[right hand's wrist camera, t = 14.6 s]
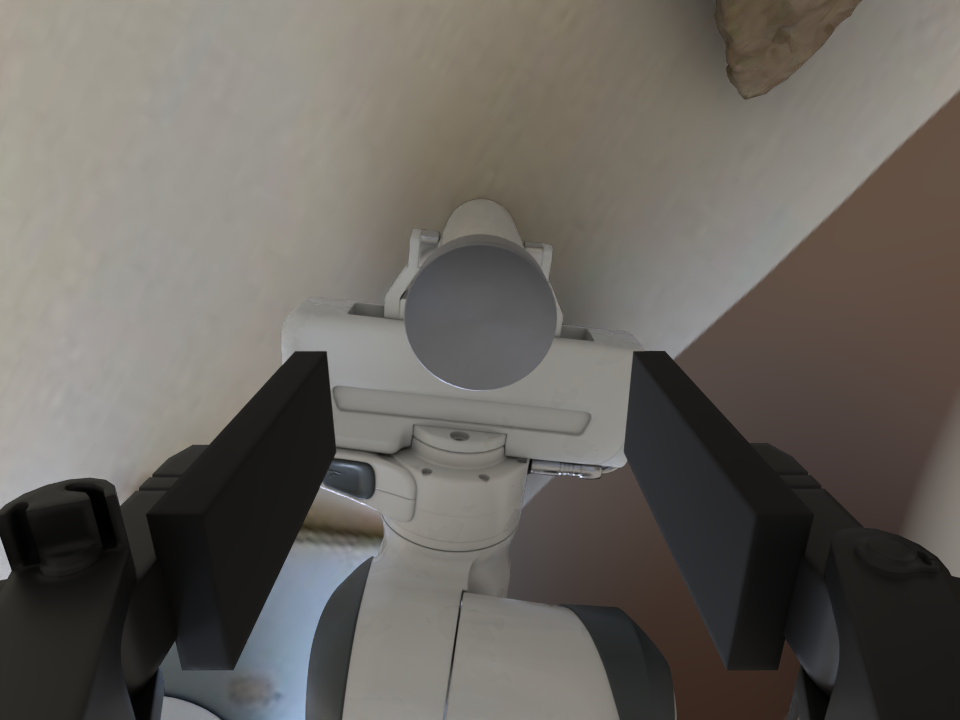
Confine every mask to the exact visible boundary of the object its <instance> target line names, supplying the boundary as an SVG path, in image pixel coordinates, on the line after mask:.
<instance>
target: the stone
mask: <svg viewBox="0 0 960 720" xmlns="http://www.w3.org/2000/svg"><path fill="white" fill-rule="evenodd" d="M861 1H862V0H717V8H716V11H715V14H714V16H715V20H716V23H717V26H718V29H719V32H720V34H721V35H722V37H723V38H724V40H725V43H726V62H727V63H728V64H729V65H728V66H727V68H726V69H727V75H728V78H729V80H730V82H731V83H732V84H733V85H734V86H735V87H736V88H737V90H738V92H739V94H740V95H741V96H742V97H743V98H744V99H745V100H746V99H749V98H753V97H756V96H759V95H763V94H766V93H767V92H768V91H770V90H771V89H772V88H774V87H775V86H777V85H778V84H780V83H781V82H783V81H785V80H786V79H788V78H789V77H790V76H791V75H792V74H793V73H794V72H796V71H797V70H798V69H799V68H800V67H801V66H802V65H803V64H804V63H805V62H806V61H807V60H808V59H809V58H810V57H811V56H812V55H813V54H814V53H815V52H816V51H817V50H818V49H819V48H820V47H821V46H822V45H823V44H824V43H825V42H826V41H827V39H828V38H829V37H830V35H831V34H832V32H833V31H834V29H835V28H836V27H837V26H838V25H839V24H840V23H841V22H842V21H844V20H845V19H846V18H848V17H849V16H851V14H852V12H853V11H854V9H855V7H856V6H857V5H858V4H859V3H860V2H861Z"/></svg>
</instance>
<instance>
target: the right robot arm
mask: <svg viewBox="0 0 960 720" xmlns="http://www.w3.org/2000/svg"><path fill="white" fill-rule="evenodd" d="M335 454H336V442H335V431H334V421H333V410H332V400H331V390H330V379H329V369H328V359H327V351H295V352H294V353H293V354H292V355H291V356H290V357H289V358H288V359H287V361H286V362H285V363H284V364H283V365H282V366H281V367H280V368H279V369H278V370H277V371H276V373H275V374H274V375H273V376H272V377H271V378H270V379H269V380H268V381H267V382H266V383H265V385H264V386H263V387H262V388H261V389H260V390H259V391H258V392H257V393H256V394H255V395H254V397H253V398H252V399H251V400H250V401H249V402H248V403H247V404H246V405H245V406H244V408H243V409H242V410H241V411H240V412H239V413H238V414H237V415H236V416H235V417H234V418H233V420H232V421H231V422H230V423H229V424H228V425H227V426H226V427H225V428H224V429H223V430H222V432H221V433H220V434H219V435H218V436H217V437H216V438H215V439H214V440H213V441H212V442H211V444H210V445H192V446H190V447H188V448H186V449H185V450H183V451H181V452H179V453H177V454H176V455H174V456H172V457H170V458H168V459H167V460H166V461H165V462H164V463H163V464H162V465H161V466H160V467H159V468H158V469H157V470H156V471H155V472H154V473H153V476H152V477H149V478H148V479H147V480H146V481H145V482H144V483H143V484H142V485H141V486H140V487H139V491H135V492H134V493H133V494H132V495H131V496H130V497H129V498H128V499H127V500H126V501H125V502H124V503H123V504H122V505H121V506H120V505H119V501H118V497H117V493H116V489H115V486H114V485H113V484H111V483H110V482H108V481H107V480H103V479H95V478H82V479H70V480H66V481H61V482H57V483H53V484H49V485H46V486H43V487H40V488H38V489H35V490H33V491H30V492H28V493H25V494H23V495H21V496H20V497H18V498H16V499H15V500H13V501H11V502H9V503H8V504H6V505H5V506H4V507H3V508H2V509H1V510H0V537H1V540H2V543H3V546H4V549H5V552H6V555H7V558H8V561H9V564H10V567H11V570H12V571H11V573H10V575H9V577H8V579H5V580H0V720H161V713H162V706H163V698H164V691H165V689H164V682H163V677H162V673H161V669H160V664H161V663H162V661H163V659H164V658H165V656H166V655H167V653H168V651H169V650H170V648H171V647H172V645H173V643H174V642H175V641H176V646H177V650H178V654H179V658H180V663H181V667H182V670H234V668H235V665H236V663H237V661H238V659H239V657H240V655H241V653H242V651H243V649H244V646H245V644H246V642H247V640H248V638H249V636H250V634H251V632H252V630H253V627H254V625H255V623H256V621H257V619H258V617H259V615H260V613H261V611H262V608H263V606H264V604H265V602H266V600H267V598H268V596H269V594H270V592H271V589H272V587H273V585H274V583H275V581H276V579H277V577H278V575H279V573H280V570H281V568H282V566H283V564H284V562H285V560H286V558H287V556H288V554H289V551H290V549H291V547H292V545H293V543H294V541H295V539H296V537H297V535H298V532H299V530H300V528H301V526H302V524H303V522H304V520H305V518H306V516H307V513H308V511H309V509H310V507H311V505H312V503H313V501H314V499H315V497H316V494H317V492H318V490H319V488H320V486H321V484H322V482H323V480H324V478H325V475H326V473H327V471H328V469H329V467H330V465H331V463H332V461H333V458H334V456H335ZM624 454H625V456H626V458H627V461H628V463H629V465H630V467H631V469H632V471H633V473H634V475H635V478H636V480H637V482H638V484H639V486H640V488H641V490H642V492H643V494H644V497H645V499H646V501H647V503H648V505H649V507H650V509H651V511H652V513H653V516H654V518H655V520H656V522H657V524H658V526H659V528H660V530H661V532H662V534H663V537H664V539H665V541H666V543H667V545H668V547H669V549H670V551H671V553H672V556H673V558H674V560H675V562H676V564H677V566H678V568H679V570H680V573H681V575H682V577H683V579H684V581H685V583H686V585H687V587H688V589H689V592H690V594H691V596H692V598H693V600H694V602H695V604H696V606H697V608H698V611H699V613H700V615H701V617H702V619H703V621H704V623H705V625H706V627H707V629H708V632H709V634H710V636H711V638H712V640H713V642H714V644H715V646H716V649H717V651H718V653H719V655H720V657H721V659H722V661H723V663H724V665H725V668H726V670H778V667H779V663H780V658H781V654H782V650H783V646H784V641H785V639H786V640H787V642H788V643H789V645H790V647H791V648H792V650H793V651H794V653H795V655H796V656H797V658H798V659H799V661H800V663H801V665H800V669H799V673H798V677H797V681H796V684H795V688H794V692H793V696H792V701H791V704H790V708H789V712H788V717H787V720H797V719H798V718H799V719H800V720H960V578H958V577H954V576H951V574H950V572H949V570H948V569H947V568H946V567H945V566H944V564H943V563H942V562H941V561H940V560H939V558H938V557H937V556H935V555H934V554H932V553H931V552H929V551H928V550H926V549H925V548H923V547H922V546H921V545H919V544H917V543H914V542H912V541H910V540H908V539H906V538H904V537H901V536H899V535H896V534H892V533H889V532H885V531H882V530H878V529H871V528H864V527H863V526H862V525H861V524H860V523H859V522H858V521H857V520H856V519H855V518H854V517H853V516H852V515H851V514H850V513H849V512H848V511H847V510H846V509H845V508H844V507H843V506H842V505H841V504H840V503H839V502H838V501H837V500H836V499H835V498H834V497H832V495H831V494H830V493H828V492H827V491H826V490H825V489H822V488H821V485H820V484H819V483H818V482H817V481H816V480H815V479H814V478H813V477H812V476H811V475H808V472H807V471H806V470H805V469H804V468H803V467H802V466H801V465H800V464H799V463H798V462H797V461H796V460H795V459H794V458H793V457H792V456H790V455H788V454H786V453H785V452H783V451H781V450H779V449H777V448H776V447H774V446H772V445H770V444H768V443H749V442H748V441H747V440H746V439H745V438H744V437H743V436H742V435H741V434H740V433H739V432H738V431H737V429H736V428H735V427H734V426H733V425H732V424H731V423H730V422H729V421H728V420H727V418H726V417H725V416H724V415H723V414H722V413H721V412H720V411H719V410H718V409H717V408H716V406H715V405H714V404H713V403H712V402H711V401H710V400H709V399H708V398H707V397H706V396H705V394H704V393H703V392H702V391H701V390H700V389H699V388H698V387H697V386H696V385H695V383H694V382H693V381H692V380H691V379H690V378H689V377H688V376H687V375H686V374H685V373H684V371H683V370H682V369H681V368H680V367H679V366H678V365H677V364H676V363H675V362H674V361H673V359H672V358H671V357H670V356H669V355H668V354H667V353H666V352H665V351H633V359H632V369H631V379H630V390H629V400H628V410H627V421H626V431H625V442H624Z"/></svg>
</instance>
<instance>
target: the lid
mask: <svg viewBox="0 0 960 720" xmlns="http://www.w3.org/2000/svg"><path fill="white" fill-rule="evenodd" d="M404 326H405V333H406V336H407V339H408V342H409V345H410V347H411V349H412V351H413V353H414V354H415V356H416V358H417V359H418V360H419V362H420V363H421V364H422V365H423V366H424V367H425V368H426V369H427V370H428V371H429V372H430V373H431V374H433V375H434V376H435V377H437V378H438V379H440V380H442V381H444V382H445V383H448V384H450V385H452V386H455V387H458V388H462V389H467V390H475V391H485V390H494V389H499V388H503V387H506V386H509V385H511V384H513V383H515V382H517V381H520V380H521V379H523V378H524V377H526V376H527V375H528V374H530V373H531V372H532V371H533V370H534V369H535V368H536V367H537V366H538V365H539V364H540V363H541V362H542V360H543V359H544V357H545V356H546V355H547V353H548V351H549V349H550V347H551V345H552V342H553V339H554V336H555V332H556V326H557V308H556V302H555V298H554V295H553V292H552V289H551V287H550V285H549V283H548V281H547V279H546V277H545V275H544V273H543V271H542V269H541V267H540V266H539V264H538V263H537V261H536V260H535V259H534V258H533V257H532V256H531V255H530V254H529V253H528V252H527V251H526V250H525V249H523V248H522V247H521V246H519V245H517V244H516V243H514V242H512V241H510V240H508V239H505V238H502V237H498V236H494V235H488V234H475V235H467V236H463V237H459V238H456V239H454V240H451V241H449V242H447V243H445V244H444V245H442V246H440V247H439V248H438V249H436V250H435V251H434V252H433V253H432V254H431V255H430V256H429V257H428V258H427V259H426V260H425V262H424V263H423V264H422V266H421V267H420V269H419V271H418V272H417V274H416V277H415V279H414V281H413V283H412V285H411V287H410V290H409V292H408V294H407V298H406V302H405V308H404Z"/></svg>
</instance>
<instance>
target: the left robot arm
mask: <svg viewBox="0 0 960 720" xmlns="http://www.w3.org/2000/svg"><path fill="white" fill-rule="evenodd" d="M440 236H441V232H439V231H432V230H424V229H416V228H414V229H413V230H412V232H411V238H410V249H409V262H408V263H407V265H406V266H405V267H404V269H403V270H402V272H401V273H400V275H399V276H398V278H397V279H396V280H395V282H394V283H393V285H392V286H391V288H390V289H389V291H388V292H387V294H386V296H385V305H382V304H373V303H364V302H355V301H346V300H337V299H328V298H320V297H311V298H308V299H307V300H305V301H304V302H303V303H301V304H300V305H299V306H298V307H296V308H295V309H294V310H293V311H292V312H291V313H290V315H289V316H288V317H287V318H286V320H285V321H284V324H283V326H282V332H281V351H282V365H283V364H284V363H285V362H286V361H287V359H288V358H289V357H290V356H291V355H292V354H293V353H294V352H295V351H327V359H328V369H329V379H330V390H331V400H332V410H333V421H334V431H335V442H336V454H335V456H334V458H333V461H332V463H331V465H330V467H329V469H328V471H327V473H326V475H325V478H324V480H323V482H322V484H321V486H320V488H322V489H325V490H328V491H331V492H333V493H336V494H339V495H341V496H344V497H346V498H349V499H351V500H354V501H356V502H358V503H361V504H363V505H365V506H367V507H369V508H372V509H374V510H376V511H378V512H380V513H381V517H382V521H383V526H384V538H383V541H382V543H381V545H380V548H379V550H378V555H377V557H373V556H372V557H371V558H369V559H367V560H366V561H365V562H363V563H362V564H361V565H360V566H359V567H358V568H357V569H355V570H354V571H353V572H352V573H351V574H350V575H349V576H348V577H347V578H346V579H345V580H344V581H343V582H342V583H341V584H340V585H339V586H338V587H337V589H336V590H335V591H334V593H333V594H332V595H331V597H330V598H329V600H328V602H327V604H326V606H325V608H324V610H323V612H322V615H321V617H320V620H319V623H318V626H317V629H316V632H315V635H314V639H313V643H312V648H311V654H310V661H309V669H308V679H307V692H306V715H305V720H677V717H676V704H675V695H674V690H673V682H672V676H671V671H670V668H669V665H668V663H667V661H666V659H665V658H664V656H663V655H662V653H661V652H660V651H659V649H658V648H657V647H656V645H655V644H654V643H653V642H652V640H651V639H650V638H649V637H648V636H647V635H646V633H645V632H644V631H643V630H642V629H641V628H640V627H639V626H638V625H637V624H636V623H635V622H634V621H633V620H632V619H631V618H630V617H629V616H628V615H627V614H626V613H625V612H624V611H622V610H621V609H620V608H617V607H604V606H587V605H570V604H559V605H556V606H555V605H548V604H542V603H535V602H528V601H522V600H515V599H508V598H506V597H507V591H508V586H509V580H510V573H511V565H510V557H509V552H508V549H509V545H510V542H511V541H512V539H513V537H514V535H515V533H516V531H517V528H518V525H519V520H520V515H521V509H522V503H523V497H524V491H525V485H526V477H527V475H528V474H529V473H530V474H540V475H550V476H562V475H563V476H567V475H568V476H576V477H579V478H582V479H599V478H600V477H601V475H602V474H607V473H611V472H613V471H615V470H617V469H619V468H620V467H622V466H624V465H625V464H626V462H627V458H626V456H625V454H624V442H625V431H626V421H627V410H628V400H629V390H630V379H631V369H632V359H633V351H645V349H644V348H643V346H642V345H641V344H640V342H639V341H638V340H637V339H636V338H635V337H634V336H633V335H632V334H631V333H628V332H624V331H615V330H606V329H597V328H588V327H579V326H570V325H562V322H563V317H564V316H563V314H562V311H561V309H560V306H559V304H558V301H557V299H556V296H555V293H554V291H553V288H552V286H551V283H550V281H549V274H550V267H551V261H552V253H553V248H552V246H551V245H550V244H544V243H535V242H525V241H524V242H523V245H524V247H525V250H526V251H527V252H528V253H529V254H530V255H531V256H532V257H533V258H534V259H535V260H536V261H537V263H538V264H539V266H540V267H541V269H542V271H543V273H544V275H545V277H546V279H547V281H548V283H549V285H550V287H551V289H552V292H553V295H554V298H555V302H556V308H557V326H556V332H555V336H554V339H553V342H552V345H551V347H550V349H549V351H548V353H547V355H546V356H545V357H544V359H543V360H542V362H541V363H540V364H539V365H538V366H537V367H536V368H535V369H534V370H533V371H532V372H531V373H530V374H528V375H527V376H526V377H524V378H523V379H521V380H520V381H517V382H515V383H513V384H511V385H509V386H506V387H503V388H499V389H494V390H485V391H475V390H467V389H462V388H458V387H455V386H452V385H450V384H448V383H445V382H444V381H442V380H440V379H438V378H437V377H435V376H434V375H433V374H431V373H430V372H429V371H428V370H427V369H426V368H425V367H424V366H423V365H422V364H421V363H420V362H419V360H418V359H417V358H416V356H415V354H414V353H413V351H412V349H411V347H410V345H409V342H408V339H407V336H406V333H405V326H404V308H405V302H406V298H407V294H408V292H409V290H408V289H407V290H406V288H407V287H408V285H409V284H410V283H411V281H412V280H413V278H414V277H415V275H416V274H417V272H418V271H419V269H420V267H421V266H422V264H423V263H424V262H425V260H426V259H427V258H428V257H429V256H430V255H431V254H432V253H433V252H434V251H435V250H436V248H437V245H438V243H439V241H440ZM602 466H607V467H602ZM446 707H447V711H446ZM445 714H446V718H445ZM161 720H221V719H220V718H218V717H217V716H216V715H214V714H212V713H211V712H209V711H207V710H206V709H204V708H202V707H200V706H197V705H195V704H192V703H190V702H187V701H184V700H180V699H177V698H172V697H166V696H164V698H163V706H162V713H161Z"/></svg>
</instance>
